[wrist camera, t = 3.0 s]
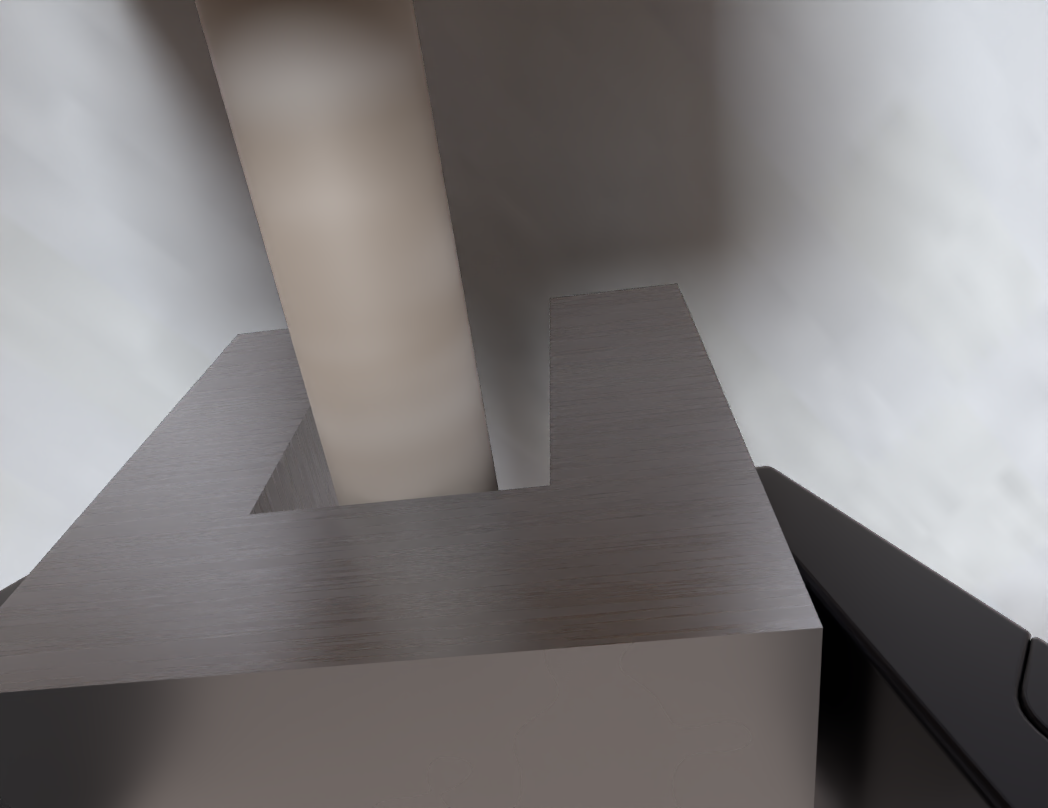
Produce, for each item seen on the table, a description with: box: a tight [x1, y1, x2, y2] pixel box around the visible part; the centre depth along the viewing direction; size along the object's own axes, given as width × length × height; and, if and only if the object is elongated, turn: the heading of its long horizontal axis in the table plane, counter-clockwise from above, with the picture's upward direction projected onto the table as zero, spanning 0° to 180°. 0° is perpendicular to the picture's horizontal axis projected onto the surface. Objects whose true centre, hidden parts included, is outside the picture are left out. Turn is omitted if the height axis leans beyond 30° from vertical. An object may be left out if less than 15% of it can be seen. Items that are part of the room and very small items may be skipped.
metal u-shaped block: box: [0, 284, 823, 808], centre depth 9 cm, size 6×2×7 cm, turn 98°
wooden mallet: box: [194, 0, 499, 506], centre depth 8 cm, size 18×8×8 cm, turn 8°
